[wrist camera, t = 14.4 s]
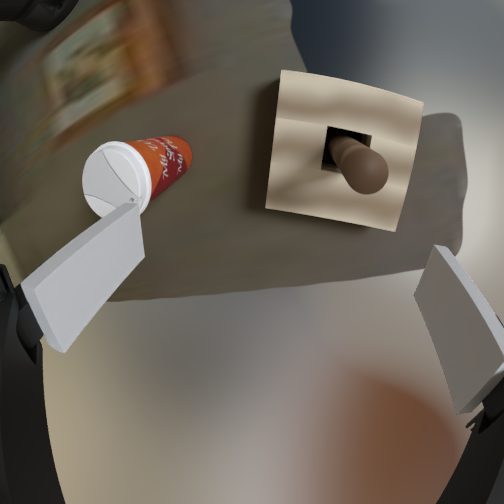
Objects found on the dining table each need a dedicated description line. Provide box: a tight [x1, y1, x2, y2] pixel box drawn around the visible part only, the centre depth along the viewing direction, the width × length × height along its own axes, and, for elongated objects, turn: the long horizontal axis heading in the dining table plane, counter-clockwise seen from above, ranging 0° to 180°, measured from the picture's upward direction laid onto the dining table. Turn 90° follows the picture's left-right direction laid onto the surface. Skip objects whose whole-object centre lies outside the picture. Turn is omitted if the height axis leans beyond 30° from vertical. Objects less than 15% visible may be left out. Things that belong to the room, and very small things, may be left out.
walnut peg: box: [328, 134, 389, 195], centre depth 26 cm, size 4×4×15 cm
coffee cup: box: [82, 136, 192, 218], centre depth 30 cm, size 8×8×15 cm
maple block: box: [265, 70, 424, 232], centre depth 30 cm, size 16×16×5 cm
